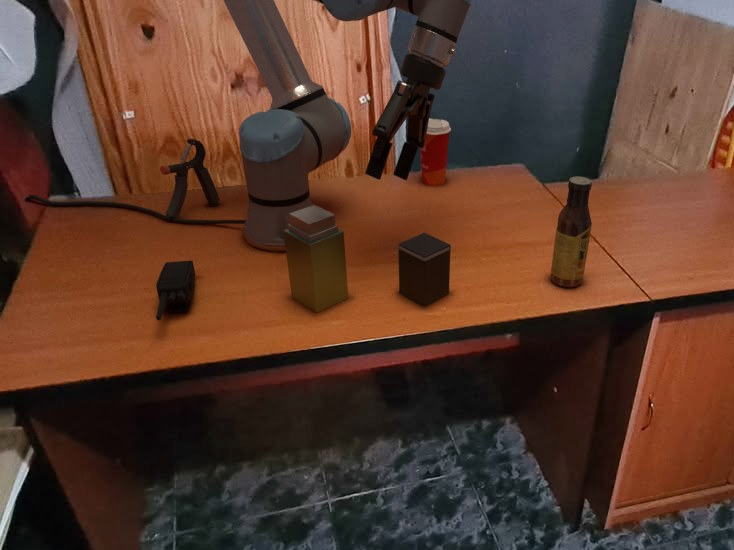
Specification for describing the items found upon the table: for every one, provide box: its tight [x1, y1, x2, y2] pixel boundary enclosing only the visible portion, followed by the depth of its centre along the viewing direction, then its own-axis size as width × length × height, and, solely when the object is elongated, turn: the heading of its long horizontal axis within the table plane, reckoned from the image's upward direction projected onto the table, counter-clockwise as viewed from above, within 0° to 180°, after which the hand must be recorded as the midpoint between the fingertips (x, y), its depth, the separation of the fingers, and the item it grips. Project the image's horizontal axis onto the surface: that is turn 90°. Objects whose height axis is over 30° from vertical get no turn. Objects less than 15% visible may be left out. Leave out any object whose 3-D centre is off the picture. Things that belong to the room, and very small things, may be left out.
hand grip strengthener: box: [159, 138, 221, 220], centre depth 141 cm, size 2×12×15 cm, turn 146°
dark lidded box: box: [397, 232, 452, 308], centre depth 122 cm, size 6×6×10 cm
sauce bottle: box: [550, 175, 593, 288], centre depth 125 cm, size 7×6×20 cm
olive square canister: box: [283, 204, 349, 314], centre depth 117 cm, size 7×7×16 cm
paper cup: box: [419, 118, 452, 187], centre depth 162 cm, size 8×8×14 cm
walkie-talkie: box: [155, 260, 196, 322], centre depth 115 cm, size 6×6×20 cm
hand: (386, 177), depth 126 cm, fingers open, 13 cm apart
